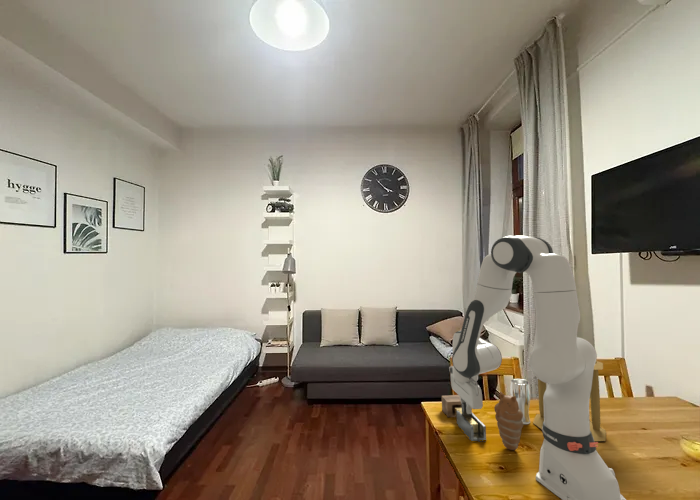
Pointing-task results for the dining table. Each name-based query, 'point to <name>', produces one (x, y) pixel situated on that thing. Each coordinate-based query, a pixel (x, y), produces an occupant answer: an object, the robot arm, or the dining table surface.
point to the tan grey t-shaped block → (467, 417)
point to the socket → (450, 404)
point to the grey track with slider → (471, 427)
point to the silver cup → (521, 396)
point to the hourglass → (595, 427)
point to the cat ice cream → (509, 420)
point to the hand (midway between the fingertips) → (466, 411)
